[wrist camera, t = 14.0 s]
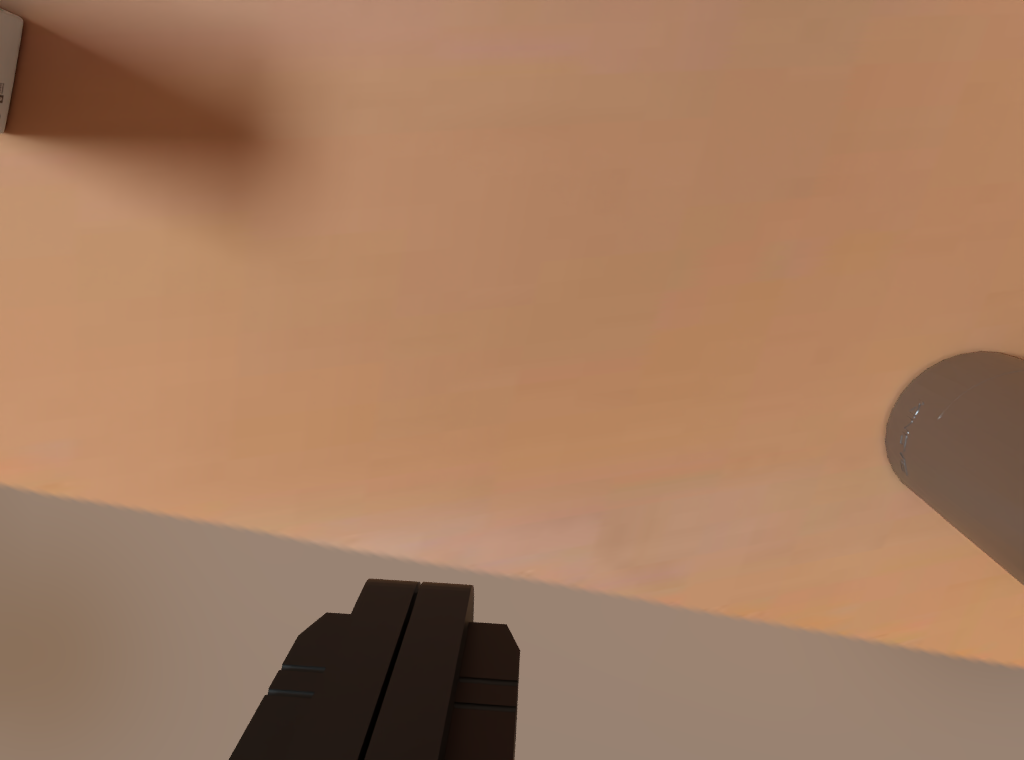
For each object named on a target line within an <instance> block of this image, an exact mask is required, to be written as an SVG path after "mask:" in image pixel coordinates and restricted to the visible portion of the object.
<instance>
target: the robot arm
mask: <svg viewBox="0 0 1024 760" xmlns="http://www.w3.org/2000/svg"><path fill="white" fill-rule="evenodd" d="M885 444H886V451H887V457H888V459H889V462H890V464H891V467H892V469H893V471H894V472H895V474H896V475H897V476H898V478H899V479H900V480H901V482H902V483H903V484H904V485H906V486H907V487H908V488H909V489H910V490H912V491H913V492H914V493H915V494H916V495H917V496H919V497H920V498H921V499H922V500H923V501H925V502H926V503H927V504H928V505H929V506H930V507H932V508H933V509H934V510H935V511H936V512H937V513H939V514H940V515H941V516H942V517H943V518H944V519H945V520H946V521H948V522H949V523H950V524H951V525H952V526H954V527H955V528H956V529H957V530H958V531H959V532H961V533H962V534H963V535H964V536H965V537H967V538H968V539H969V540H970V541H971V542H973V543H974V544H975V545H976V546H977V547H979V548H980V549H981V550H982V551H983V552H985V553H986V554H987V555H988V556H989V557H990V558H992V559H993V560H994V561H995V562H996V563H998V564H999V565H1000V566H1001V567H1002V568H1004V569H1005V570H1006V571H1007V572H1008V573H1010V574H1011V575H1012V576H1013V577H1014V578H1016V579H1017V580H1018V581H1019V582H1020V583H1021V584H1023V585H1024V360H1022V359H1019V358H1016V357H1013V356H1009V355H1006V354H1002V353H998V352H982V351H980V352H973V353H965V354H960V355H957V356H954V357H951V358H948V359H945V360H943V361H941V362H939V363H937V364H935V365H934V366H932V367H930V368H928V369H927V370H925V371H924V372H923V373H922V374H920V375H919V376H918V377H917V378H915V379H914V380H913V381H912V382H911V383H910V384H909V385H908V387H907V388H906V389H905V390H904V391H903V392H902V393H901V395H900V396H899V398H898V400H897V402H896V403H895V405H894V407H893V409H892V411H891V414H890V417H889V420H888V423H887V427H886V438H885ZM473 612H474V587H473V585H463V584H448V583H432V582H423V583H422V584H420V582H413V581H399V580H383V579H368V580H367V582H366V583H365V585H364V587H363V589H362V592H361V594H360V596H359V598H358V600H357V602H356V604H355V607H354V609H353V611H352V613H351V614H340V613H325V614H324V615H323V616H322V617H321V618H319V619H318V620H317V621H316V622H314V623H313V624H312V625H311V626H309V627H308V628H307V629H306V630H305V631H304V632H302V633H301V634H300V635H299V636H298V637H297V639H296V641H295V643H294V644H293V646H292V648H291V650H290V651H289V654H288V655H287V657H286V659H285V661H284V662H283V664H282V669H281V670H279V671H278V673H277V675H276V676H275V678H274V680H273V682H272V684H271V685H270V687H269V692H268V695H265V696H264V698H263V700H262V701H261V703H260V705H259V707H258V708H257V710H256V712H255V714H254V716H253V717H252V719H251V721H250V723H249V725H248V726H247V728H246V730H245V732H244V734H243V735H242V737H241V739H240V741H239V743H238V744H237V746H236V748H235V750H234V751H233V753H232V755H231V757H230V758H229V760H514V757H515V741H516V720H517V701H518V681H519V660H520V659H519V658H520V650H519V648H518V646H517V644H516V642H515V640H514V638H513V636H512V634H511V632H510V630H509V628H508V626H507V625H505V624H492V623H476V622H473Z"/></svg>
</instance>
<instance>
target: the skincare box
mask: <svg viewBox="0 0 1024 760" xmlns="http://www.w3.org/2000/svg"><path fill="white" fill-rule="evenodd" d="M22 28H23V20H22V18H21V17H19V16H17V15H15V14H12V13H10V12H8V11H5V10H3V9H1V8H0V133H4V130H5V125H6V121H7V115H8V110H9V105H10V99H11V94H12V88H13V83H14V77H15V71H16V65H17V59H18V53H19V47H20V42H21V35H22Z"/></svg>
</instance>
